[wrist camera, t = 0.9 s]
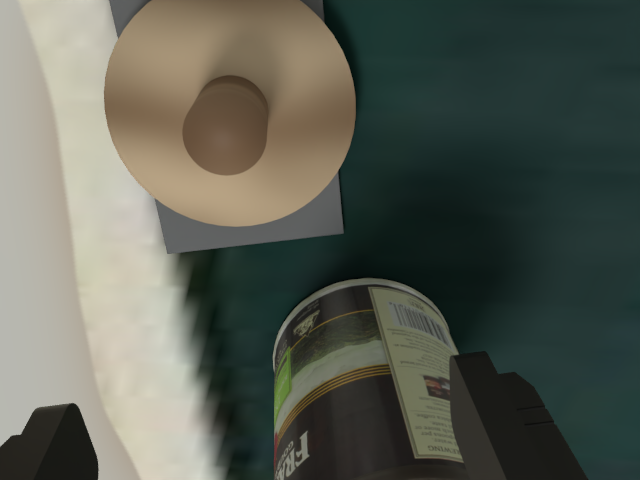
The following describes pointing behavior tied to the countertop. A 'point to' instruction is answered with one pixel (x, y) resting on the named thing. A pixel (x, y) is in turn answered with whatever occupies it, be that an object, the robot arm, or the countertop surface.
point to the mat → (197, 235)
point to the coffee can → (364, 387)
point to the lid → (230, 107)
